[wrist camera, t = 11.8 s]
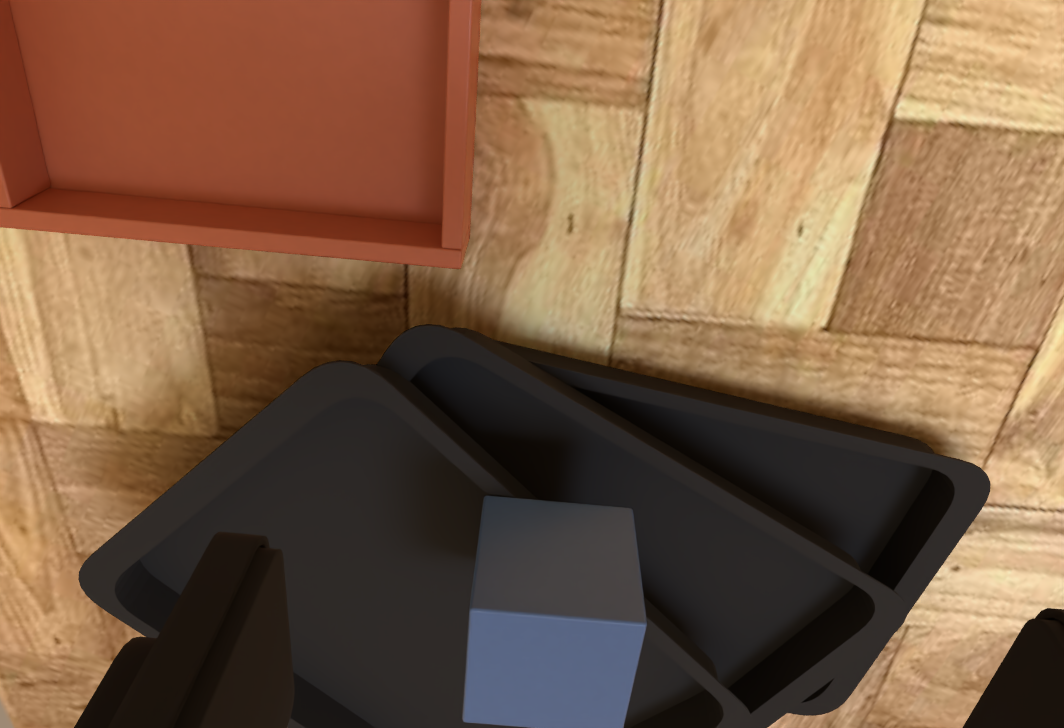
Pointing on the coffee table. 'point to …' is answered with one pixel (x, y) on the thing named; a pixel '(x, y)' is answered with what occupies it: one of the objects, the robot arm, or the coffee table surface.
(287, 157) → the dish
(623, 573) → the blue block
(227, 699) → the robot arm
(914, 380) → the coffee table surface
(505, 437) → the tray
